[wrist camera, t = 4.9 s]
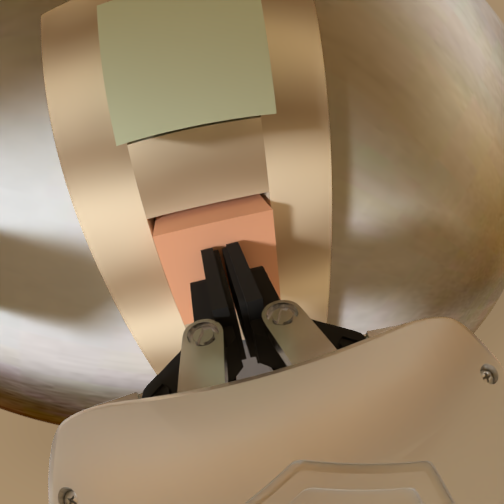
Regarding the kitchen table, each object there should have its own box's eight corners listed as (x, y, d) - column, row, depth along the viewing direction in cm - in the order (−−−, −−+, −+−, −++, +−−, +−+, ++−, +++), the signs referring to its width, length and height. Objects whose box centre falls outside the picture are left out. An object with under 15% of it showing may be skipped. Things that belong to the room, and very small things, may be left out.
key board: (63, 27, 8) (40, 14, 5) (285, -13, 9) (307, -32, 7) (180, 385, 22) (184, 413, 20) (308, 352, 24) (320, 377, 22)
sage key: (119, 32, 8) (96, 5, 5) (234, 11, 8) (257, -22, 5) (135, 134, 10) (116, 146, 7) (248, 111, 11) (276, 113, 8)
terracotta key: (158, 204, 14) (152, 236, 11) (250, 184, 15) (272, 209, 11) (181, 281, 16) (184, 324, 13) (260, 262, 17) (280, 301, 14)
